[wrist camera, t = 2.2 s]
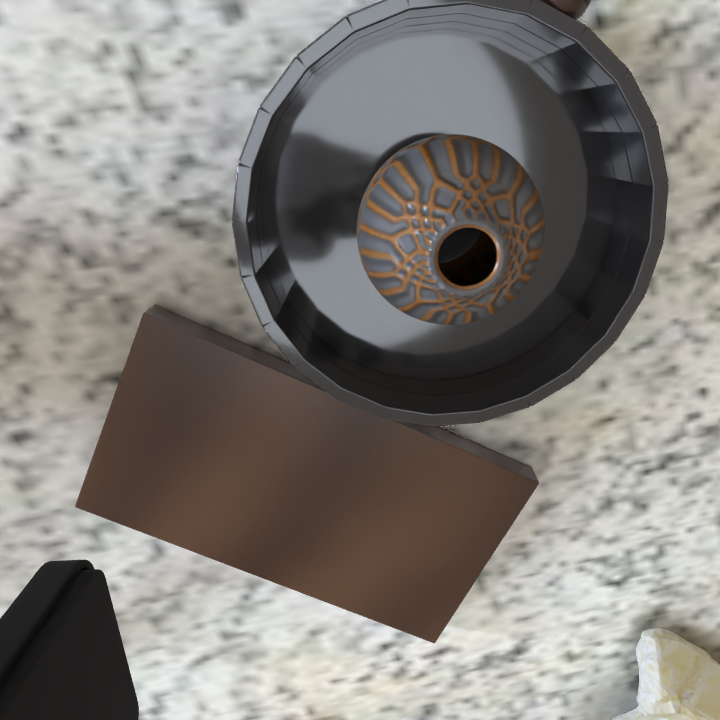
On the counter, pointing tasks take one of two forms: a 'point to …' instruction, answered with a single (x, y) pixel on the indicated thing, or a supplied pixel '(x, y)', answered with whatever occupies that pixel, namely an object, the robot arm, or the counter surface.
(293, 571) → the board
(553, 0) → the pan handle
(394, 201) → the vase
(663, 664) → the cream coral rock
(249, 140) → the pan
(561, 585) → the counter surface
